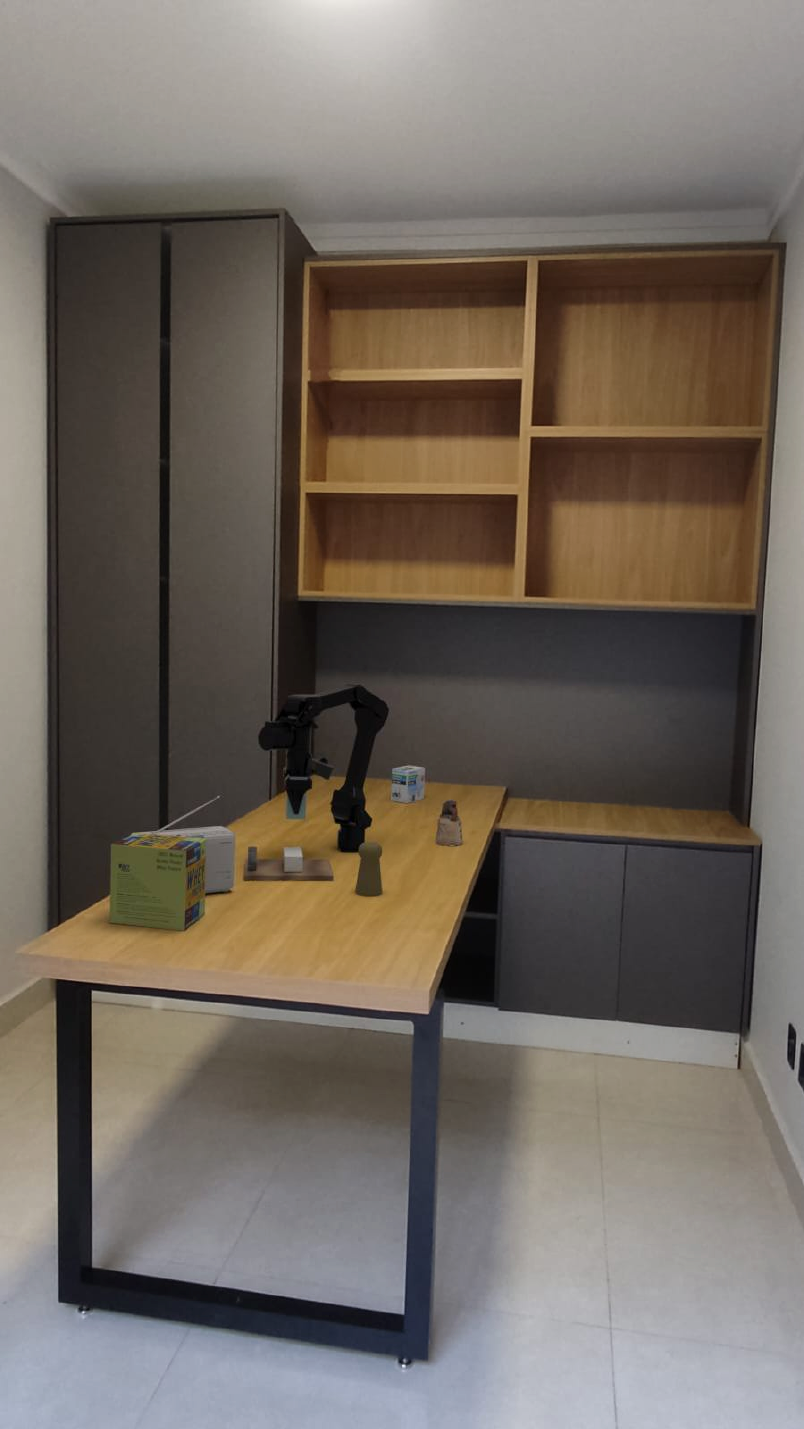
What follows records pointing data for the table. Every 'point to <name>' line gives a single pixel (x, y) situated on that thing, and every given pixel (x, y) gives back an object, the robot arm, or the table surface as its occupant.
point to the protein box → (158, 881)
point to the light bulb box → (408, 784)
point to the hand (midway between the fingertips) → (295, 812)
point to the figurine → (449, 825)
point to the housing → (292, 859)
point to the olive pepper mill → (369, 870)
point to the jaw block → (301, 813)
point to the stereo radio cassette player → (211, 852)
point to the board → (275, 869)
